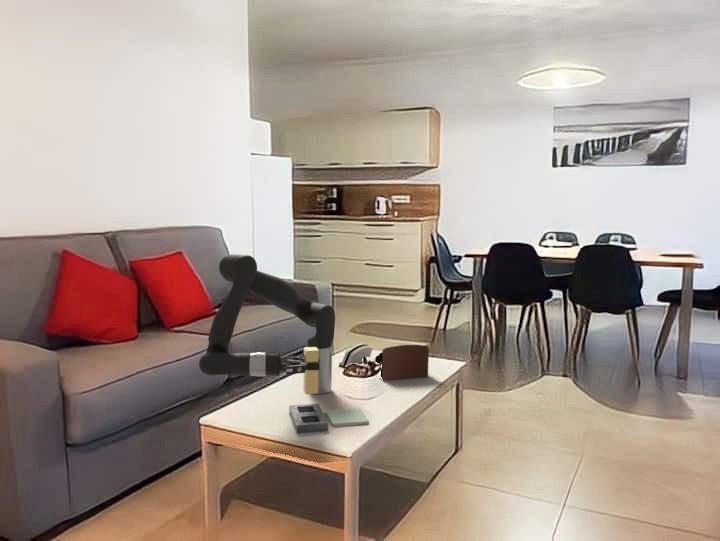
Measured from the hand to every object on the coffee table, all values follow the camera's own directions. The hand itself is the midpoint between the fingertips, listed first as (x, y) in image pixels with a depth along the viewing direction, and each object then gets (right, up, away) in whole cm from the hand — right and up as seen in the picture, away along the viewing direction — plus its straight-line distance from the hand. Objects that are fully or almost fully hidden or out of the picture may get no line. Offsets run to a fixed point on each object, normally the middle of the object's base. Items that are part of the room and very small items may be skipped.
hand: (319, 364), depth 196 cm
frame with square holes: (-4, -20, +7) cm, 21 cm away
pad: (+8, -20, +10) cm, 24 cm away
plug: (-3, -9, +1) cm, 9 cm away
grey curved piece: (+11, -11, +74) cm, 76 cm away
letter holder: (+30, -14, +58) cm, 67 cm away
